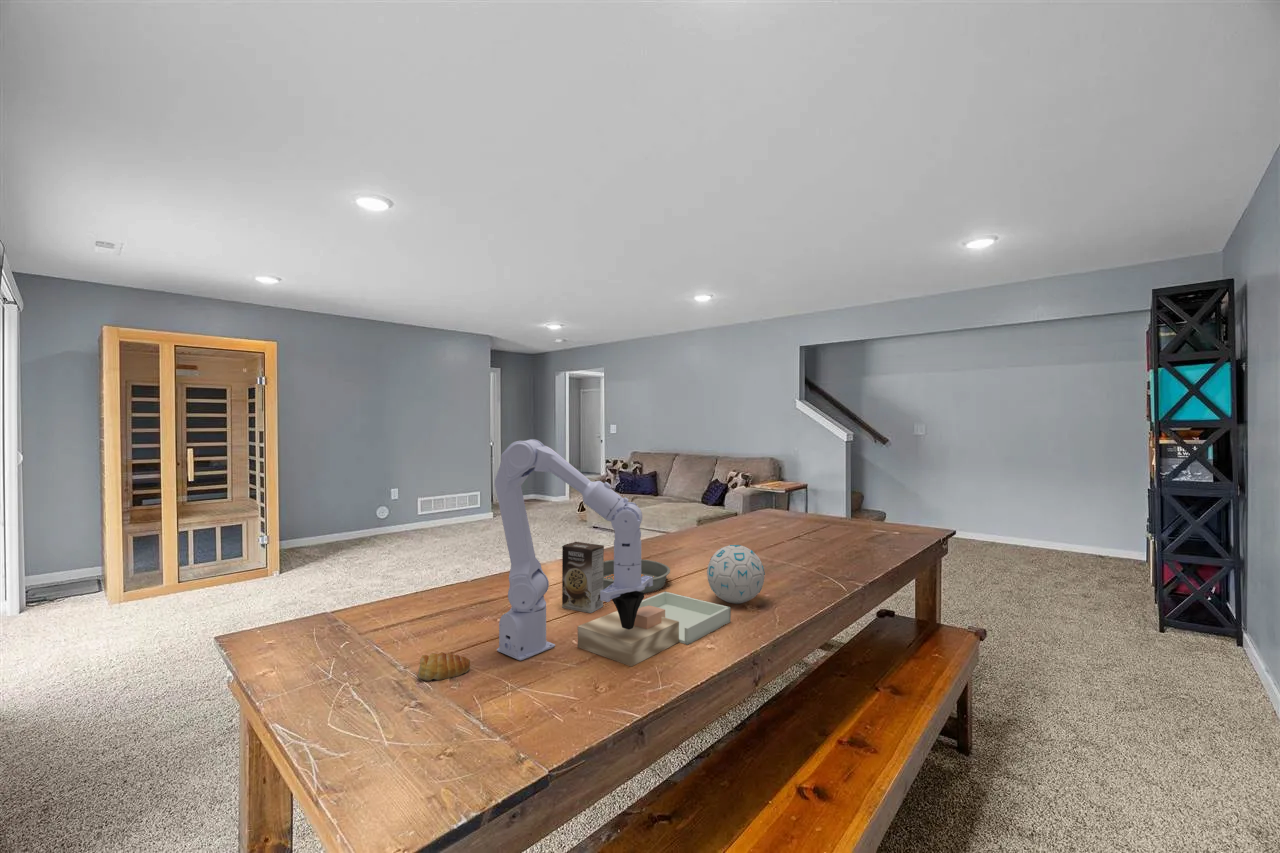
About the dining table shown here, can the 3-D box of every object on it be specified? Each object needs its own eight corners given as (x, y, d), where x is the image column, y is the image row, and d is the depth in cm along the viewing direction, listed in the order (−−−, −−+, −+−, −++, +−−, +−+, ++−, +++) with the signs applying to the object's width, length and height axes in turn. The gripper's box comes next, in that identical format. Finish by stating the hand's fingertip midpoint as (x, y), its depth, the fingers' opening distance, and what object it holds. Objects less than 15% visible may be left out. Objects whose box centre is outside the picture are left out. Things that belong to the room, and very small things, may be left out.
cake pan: (575, 578, 176) (575, 563, 176) (648, 569, 186) (648, 555, 186) (604, 601, 154) (604, 584, 154) (685, 590, 164) (685, 574, 164)
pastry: (469, 663, 115) (469, 644, 115) (470, 678, 108) (470, 658, 108) (419, 669, 112) (419, 649, 112) (417, 685, 106) (416, 664, 106)
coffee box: (560, 608, 148) (560, 545, 147) (575, 601, 153) (575, 540, 153) (591, 613, 143) (591, 549, 143) (604, 606, 149) (604, 544, 149)
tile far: (665, 609, 137) (665, 620, 137) (648, 605, 140) (648, 615, 140) (652, 615, 133) (652, 625, 133) (635, 610, 136) (635, 621, 137)
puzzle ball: (775, 607, 149) (776, 549, 148) (724, 614, 143) (725, 554, 143) (744, 590, 163) (744, 537, 162) (696, 596, 157) (697, 541, 157)
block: (631, 666, 113) (631, 643, 113) (577, 647, 123) (577, 626, 122) (678, 642, 125) (678, 621, 125) (626, 626, 135) (626, 607, 135)
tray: (687, 644, 124) (687, 628, 124) (619, 623, 136) (619, 609, 136) (730, 621, 138) (730, 607, 138) (665, 604, 150) (665, 591, 150)
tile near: (647, 629, 121) (647, 617, 121) (628, 623, 124) (628, 612, 124) (661, 622, 125) (661, 611, 125) (643, 617, 128) (643, 606, 128)
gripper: (618, 573, 111) (618, 642, 111) (664, 558, 122) (663, 622, 123) (592, 567, 116) (592, 634, 116) (638, 553, 127) (638, 615, 127)
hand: (627, 627), depth 120 cm, fingers closed
